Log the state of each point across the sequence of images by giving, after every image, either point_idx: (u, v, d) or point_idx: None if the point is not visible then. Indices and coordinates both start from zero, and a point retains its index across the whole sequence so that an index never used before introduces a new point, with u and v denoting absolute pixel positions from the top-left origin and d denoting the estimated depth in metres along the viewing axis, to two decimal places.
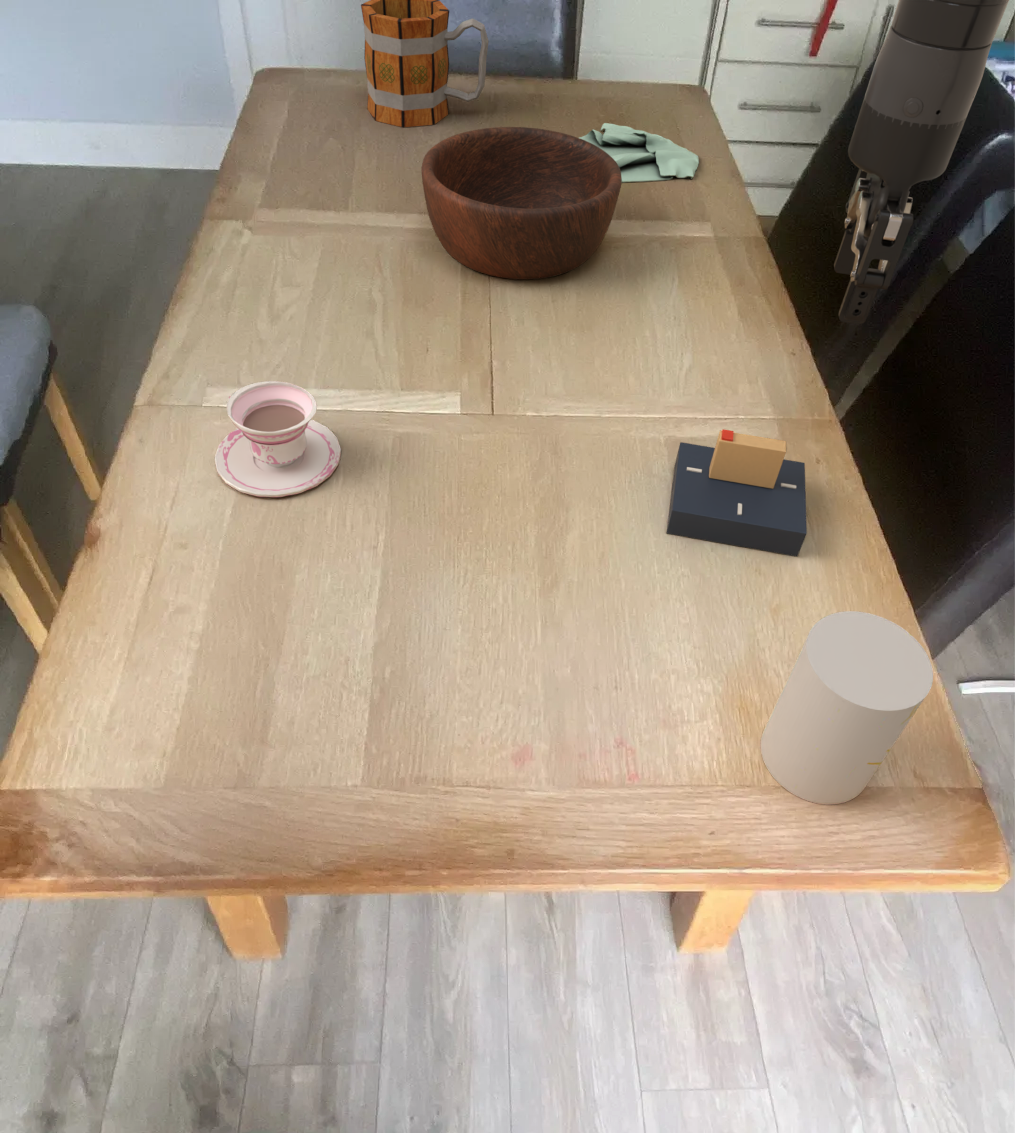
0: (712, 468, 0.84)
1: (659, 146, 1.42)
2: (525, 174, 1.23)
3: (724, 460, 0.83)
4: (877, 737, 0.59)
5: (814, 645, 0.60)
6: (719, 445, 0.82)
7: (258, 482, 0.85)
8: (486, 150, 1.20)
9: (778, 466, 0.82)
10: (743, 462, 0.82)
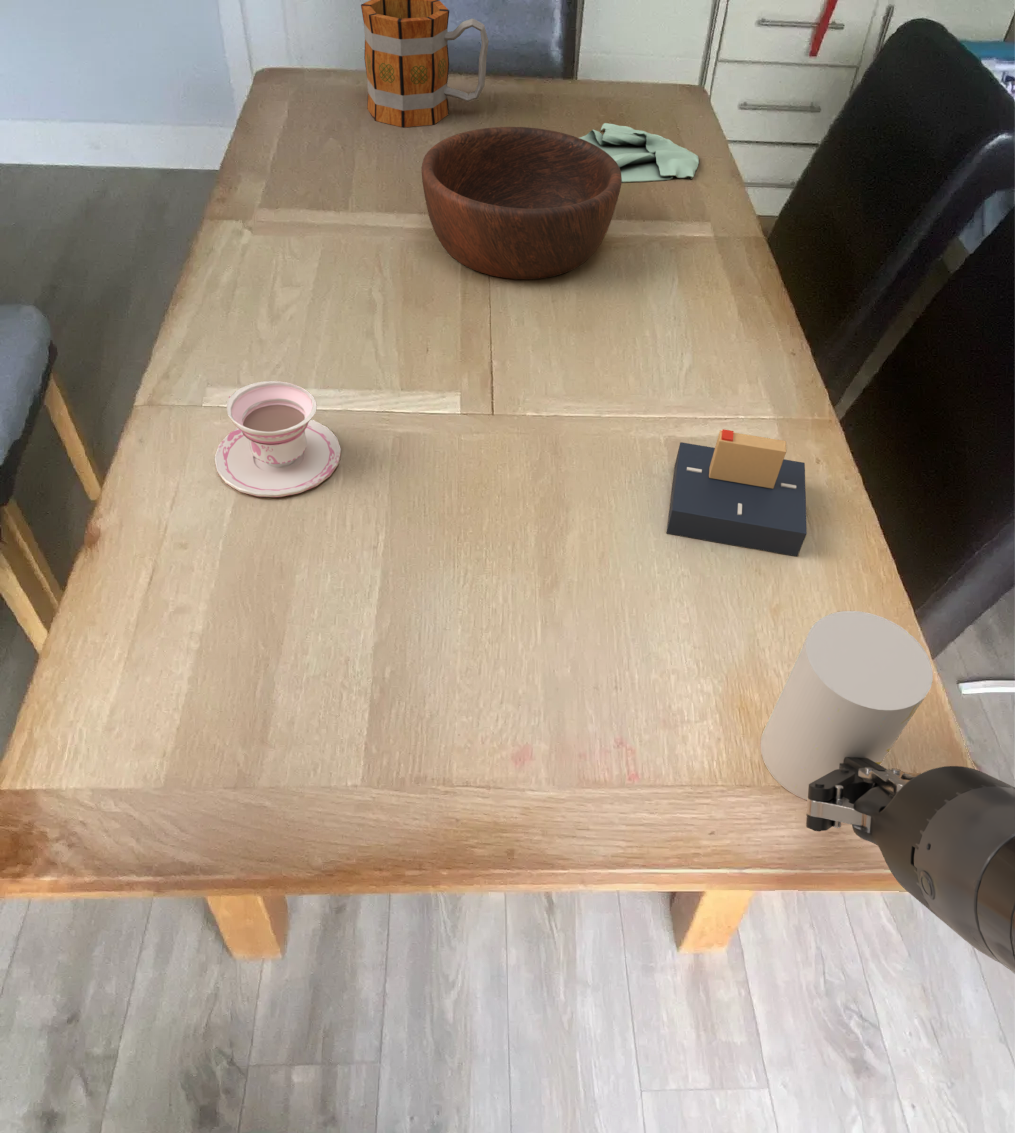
0: (712, 468, 0.84)
1: (659, 146, 1.42)
2: (525, 174, 1.23)
3: (724, 460, 0.83)
4: (877, 736, 0.59)
5: (813, 644, 0.60)
6: (719, 445, 0.82)
7: (258, 482, 0.85)
8: (486, 150, 1.20)
9: (778, 466, 0.82)
10: (743, 462, 0.82)
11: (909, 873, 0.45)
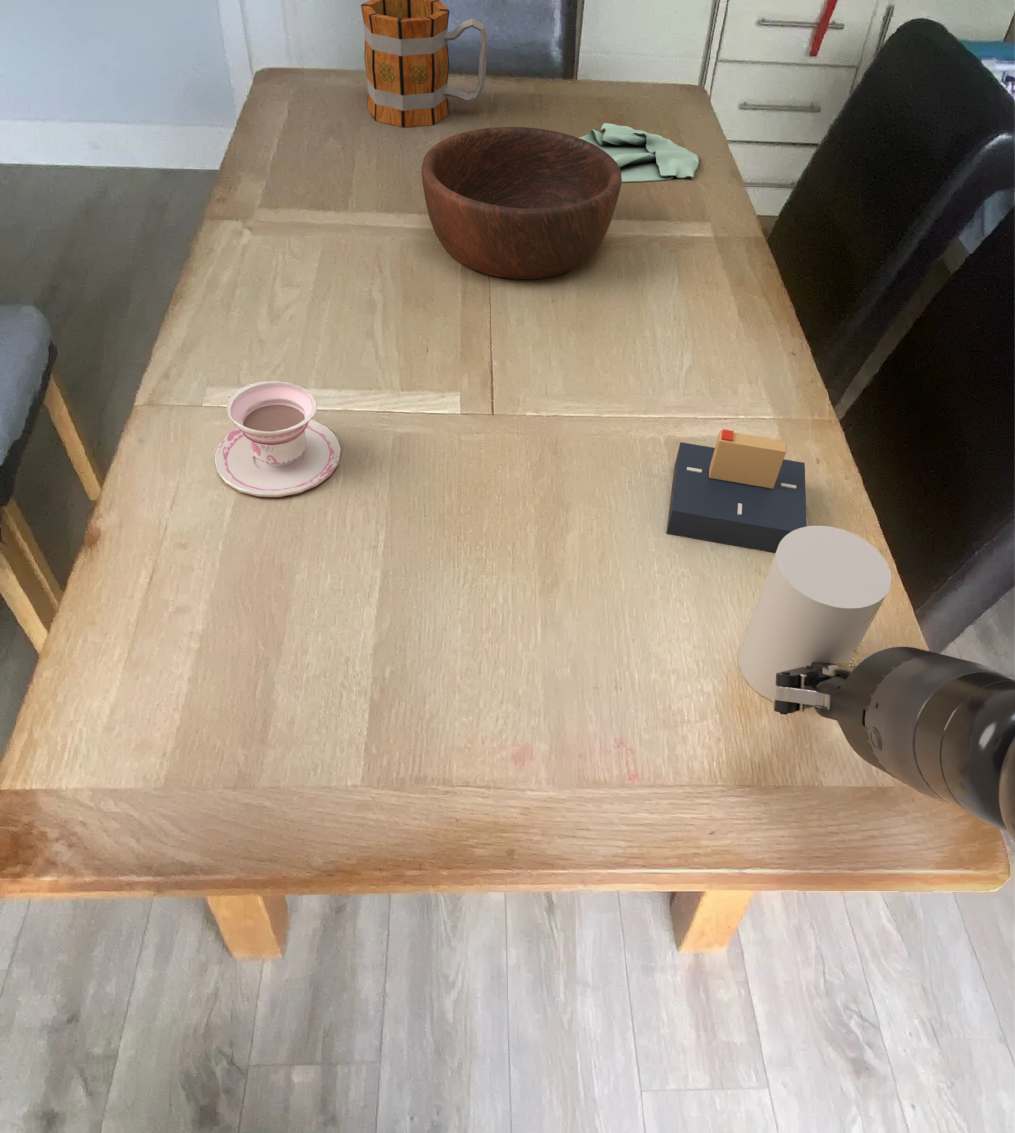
0: (712, 468, 0.84)
1: (659, 146, 1.42)
2: (525, 174, 1.23)
3: (724, 460, 0.83)
4: (844, 636, 0.64)
5: (783, 555, 0.65)
6: (719, 445, 0.82)
7: (258, 482, 0.85)
8: (486, 150, 1.20)
9: (778, 466, 0.82)
10: (743, 462, 0.82)
11: (861, 734, 0.51)
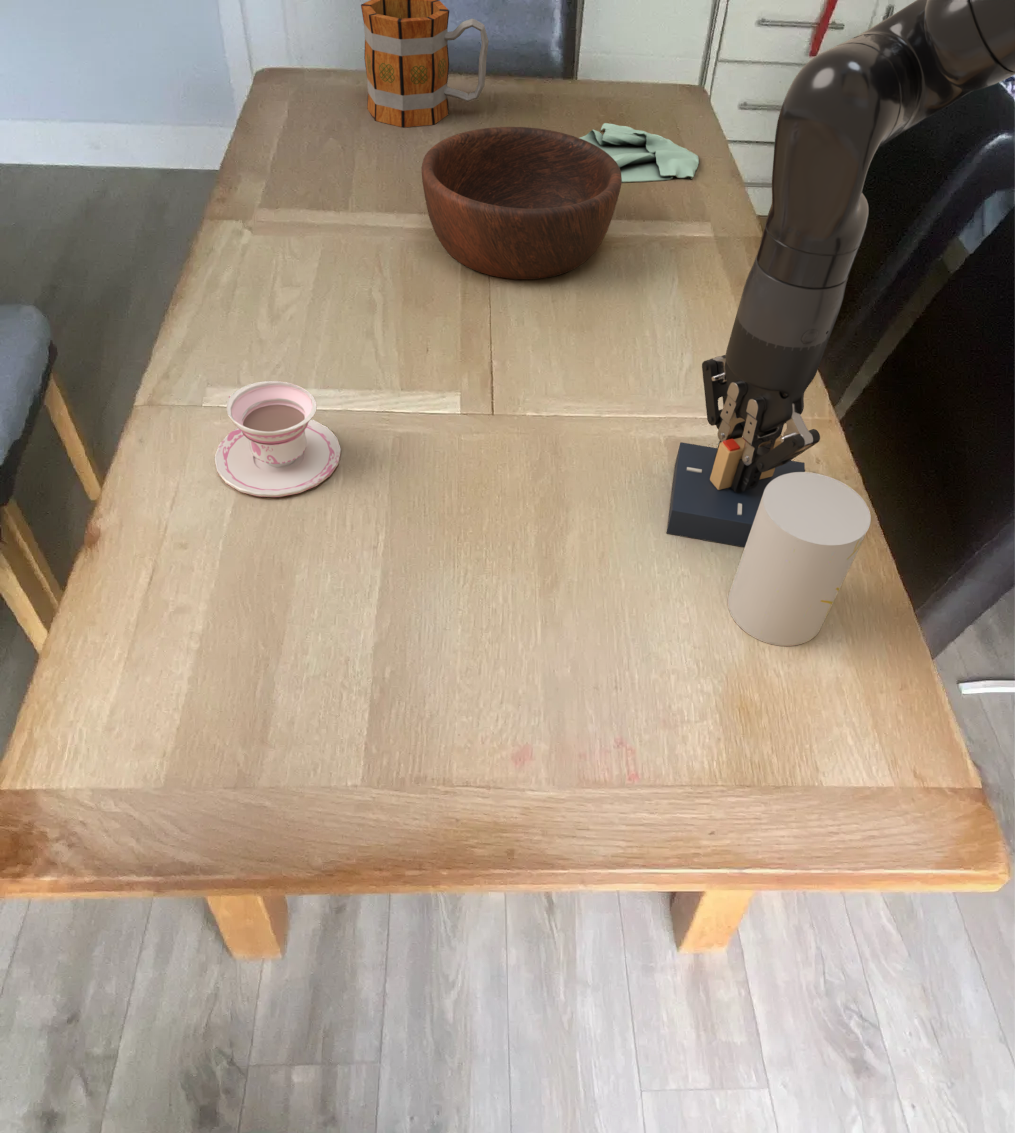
0: (721, 480, 0.83)
1: (659, 146, 1.42)
2: (525, 174, 1.23)
3: (732, 468, 0.82)
4: (828, 573, 0.69)
5: (769, 499, 0.69)
6: (729, 457, 0.81)
7: (258, 482, 0.85)
8: (486, 150, 1.20)
9: None
10: None
11: None
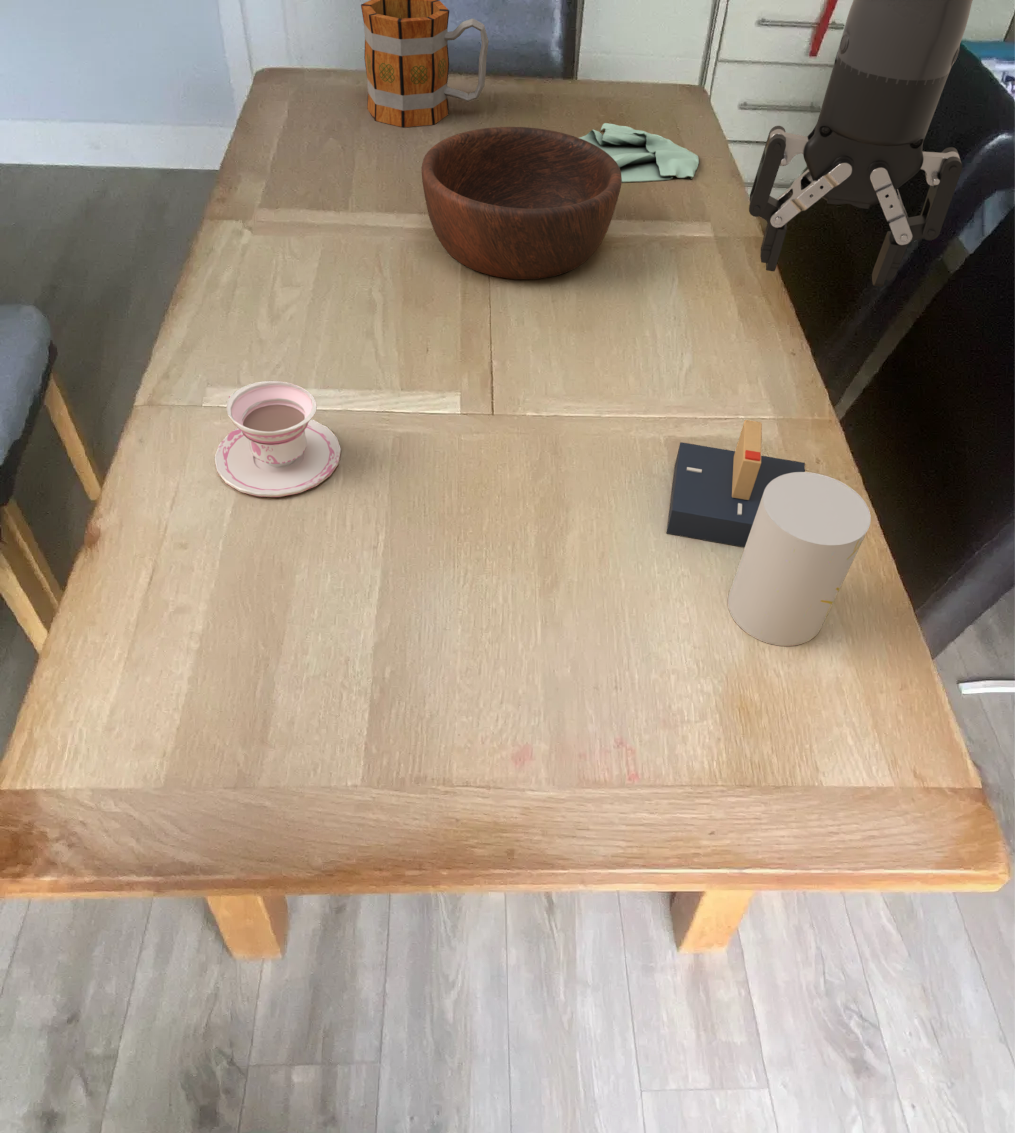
0: None
1: (659, 146, 1.42)
2: (525, 174, 1.23)
3: None
4: (827, 573, 0.69)
5: (769, 499, 0.69)
6: (759, 466, 0.80)
7: (258, 482, 0.85)
8: (486, 150, 1.20)
9: None
10: None
11: (836, 74, 0.62)
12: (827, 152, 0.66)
